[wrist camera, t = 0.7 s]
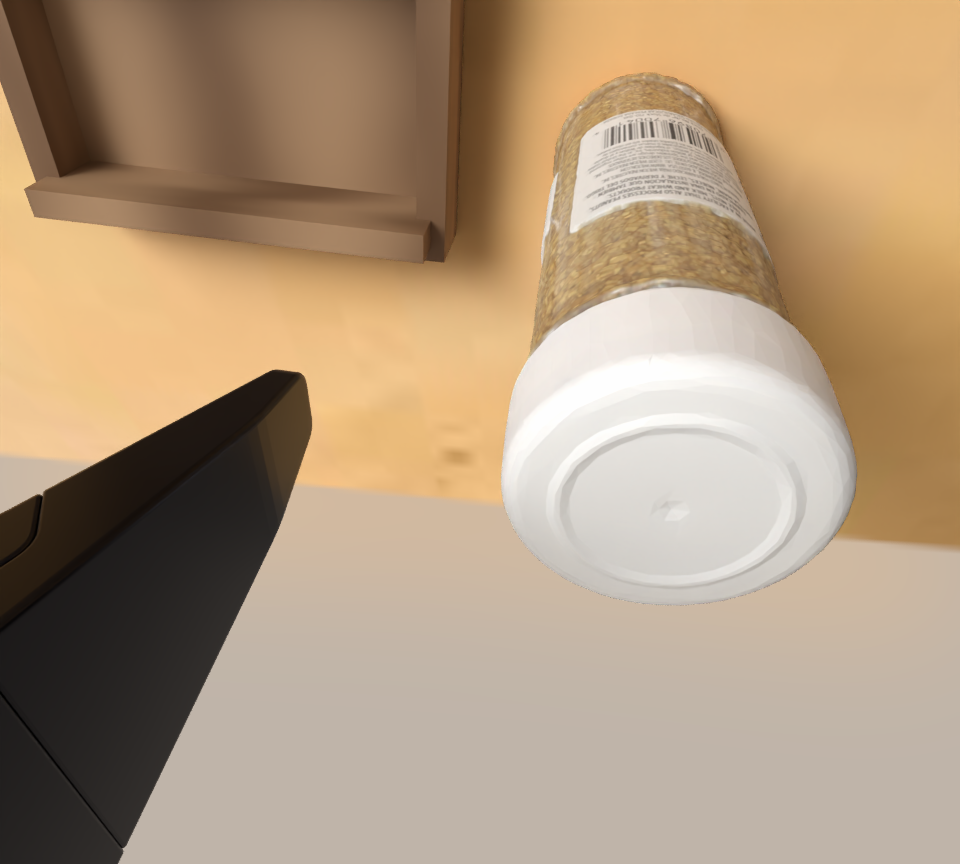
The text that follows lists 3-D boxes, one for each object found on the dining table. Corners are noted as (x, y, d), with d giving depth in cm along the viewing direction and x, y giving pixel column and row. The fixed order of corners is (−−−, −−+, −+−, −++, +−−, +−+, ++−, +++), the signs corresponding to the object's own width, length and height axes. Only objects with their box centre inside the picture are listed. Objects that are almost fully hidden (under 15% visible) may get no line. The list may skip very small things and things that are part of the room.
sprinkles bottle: (528, 198, 20) (447, 553, 10) (603, 35, 17) (593, 304, 7) (667, 260, 21) (722, 654, 11) (761, 112, 18) (960, 462, 8)
